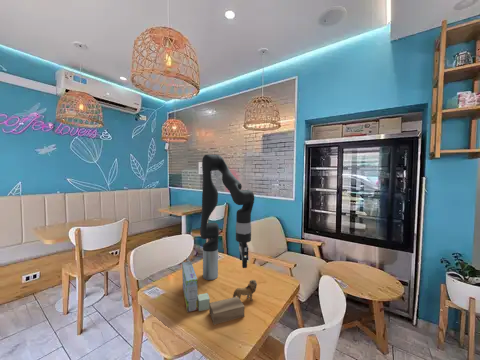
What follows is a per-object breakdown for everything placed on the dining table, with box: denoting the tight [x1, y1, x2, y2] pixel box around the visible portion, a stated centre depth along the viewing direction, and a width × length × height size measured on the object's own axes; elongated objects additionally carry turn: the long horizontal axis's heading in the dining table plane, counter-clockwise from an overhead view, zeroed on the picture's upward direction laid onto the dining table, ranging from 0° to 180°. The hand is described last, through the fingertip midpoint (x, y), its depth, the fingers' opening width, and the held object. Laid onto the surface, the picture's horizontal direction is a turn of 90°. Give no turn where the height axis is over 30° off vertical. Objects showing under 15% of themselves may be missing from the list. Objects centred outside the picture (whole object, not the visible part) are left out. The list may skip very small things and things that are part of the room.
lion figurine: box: [232, 279, 258, 302], centre depth 105 cm, size 15×5×9 cm, turn 120°
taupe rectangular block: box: [208, 296, 245, 326], centre depth 95 cm, size 8×14×5 cm, turn 112°
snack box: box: [181, 261, 199, 313], centre depth 106 cm, size 21×6×15 cm, turn 21°
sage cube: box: [198, 292, 211, 312], centre depth 100 cm, size 5×5×5 cm
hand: (243, 263), depth 103 cm, fingers open, 8 cm apart
